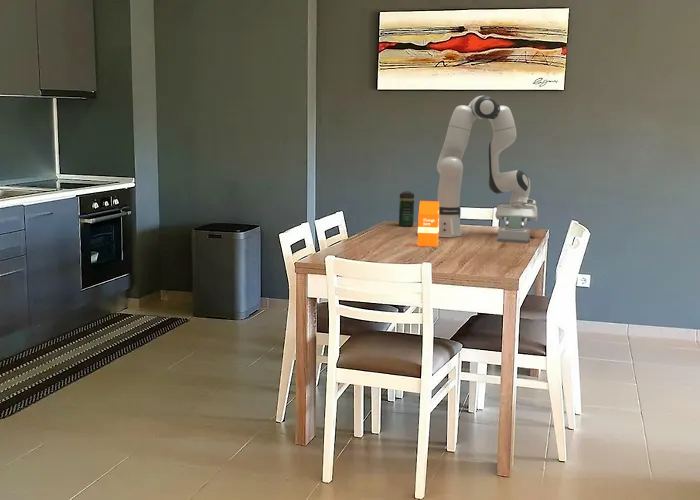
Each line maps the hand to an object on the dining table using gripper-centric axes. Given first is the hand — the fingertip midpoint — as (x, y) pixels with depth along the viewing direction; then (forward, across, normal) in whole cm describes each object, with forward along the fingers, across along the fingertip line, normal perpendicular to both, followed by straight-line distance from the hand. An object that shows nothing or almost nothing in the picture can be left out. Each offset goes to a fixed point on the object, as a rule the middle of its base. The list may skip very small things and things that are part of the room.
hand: (514, 226), depth 374 cm
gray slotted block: (+10, +1, -1) cm, 10 cm away
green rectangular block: (+4, 0, +5) cm, 6 cm away
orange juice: (+30, -33, -22) cm, 50 cm away
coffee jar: (-10, -61, +19) cm, 64 cm away
